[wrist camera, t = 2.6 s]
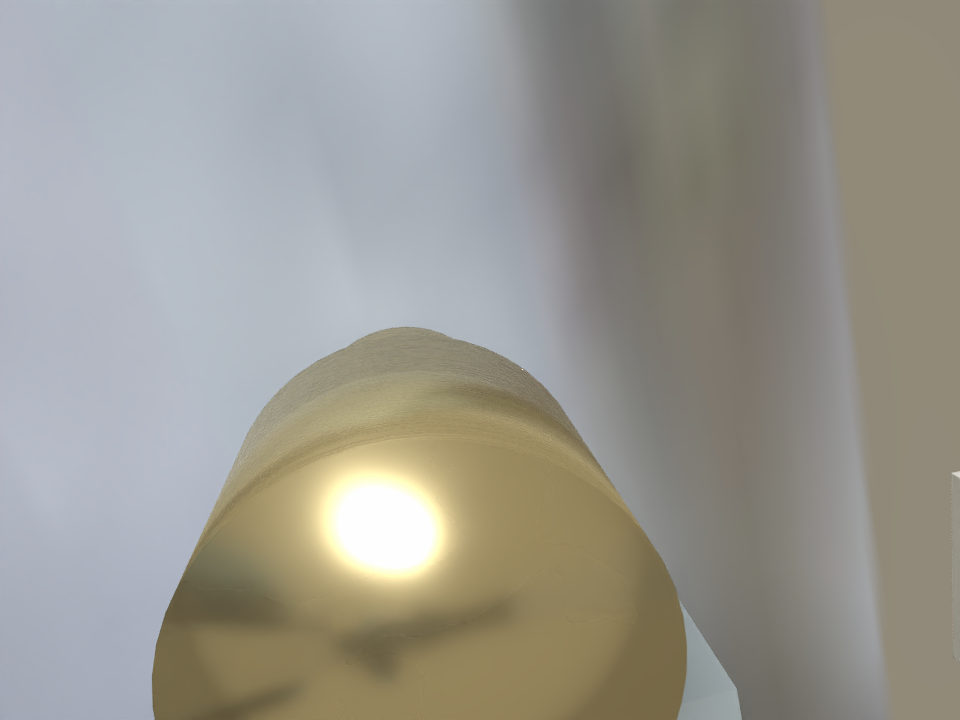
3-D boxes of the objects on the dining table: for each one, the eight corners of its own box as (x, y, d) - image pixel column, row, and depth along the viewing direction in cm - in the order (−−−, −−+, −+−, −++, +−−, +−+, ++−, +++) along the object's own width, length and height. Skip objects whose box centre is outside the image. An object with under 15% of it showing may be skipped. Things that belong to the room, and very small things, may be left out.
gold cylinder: (431, 584, 21) (474, 972, 11) (213, 445, 19) (42, 758, 9) (592, 389, 20) (790, 628, 10) (378, 226, 18) (372, 326, 9)
